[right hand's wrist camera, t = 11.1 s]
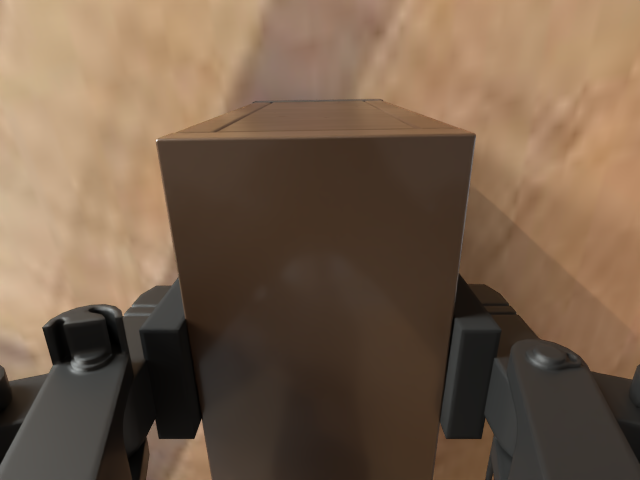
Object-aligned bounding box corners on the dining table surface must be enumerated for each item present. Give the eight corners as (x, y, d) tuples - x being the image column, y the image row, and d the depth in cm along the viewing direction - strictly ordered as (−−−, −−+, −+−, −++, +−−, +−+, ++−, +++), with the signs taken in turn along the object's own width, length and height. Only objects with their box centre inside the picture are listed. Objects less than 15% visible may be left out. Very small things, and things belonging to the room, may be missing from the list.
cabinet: (368, 402, 23) (409, 669, 13) (277, 403, 24) (242, 671, 13) (380, 99, 17) (478, 132, 7) (255, 101, 17) (153, 138, 7)
